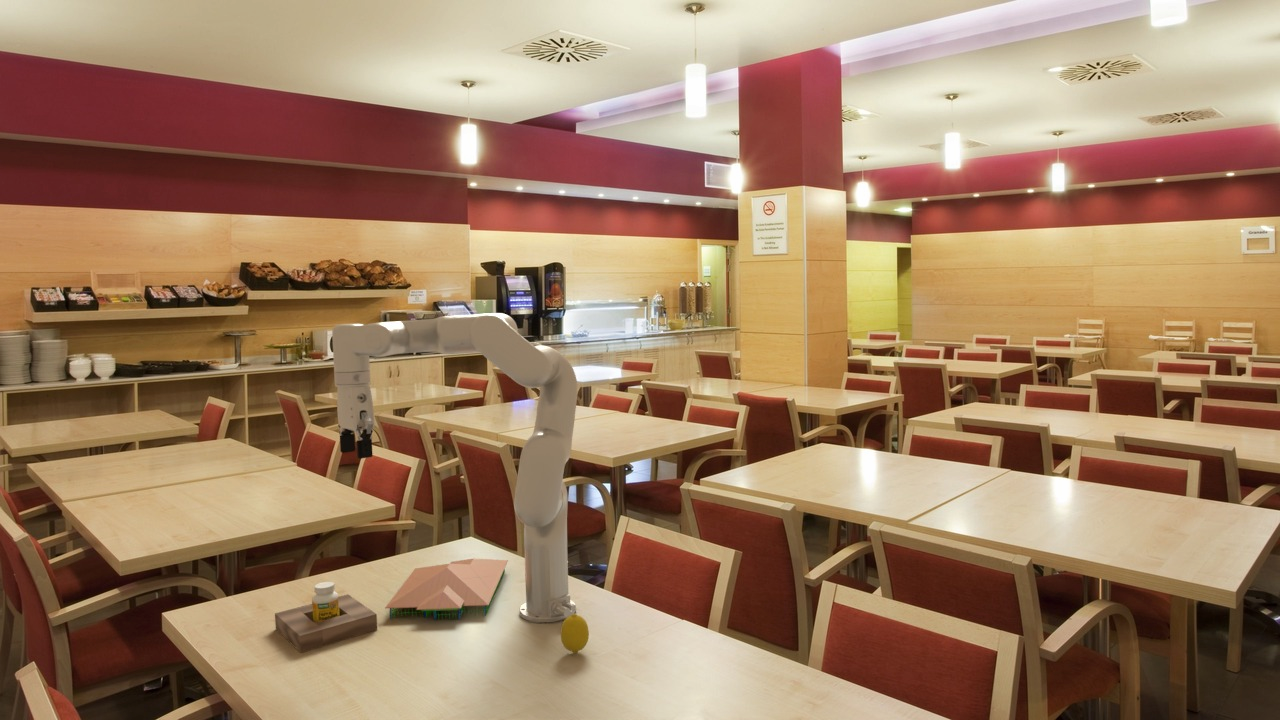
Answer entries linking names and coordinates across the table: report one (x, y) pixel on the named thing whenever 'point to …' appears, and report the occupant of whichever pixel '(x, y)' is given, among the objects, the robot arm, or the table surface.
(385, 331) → the robot arm
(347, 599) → the holder
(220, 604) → the table surface
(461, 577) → the house
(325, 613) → the supplement bottle
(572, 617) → the lemon
